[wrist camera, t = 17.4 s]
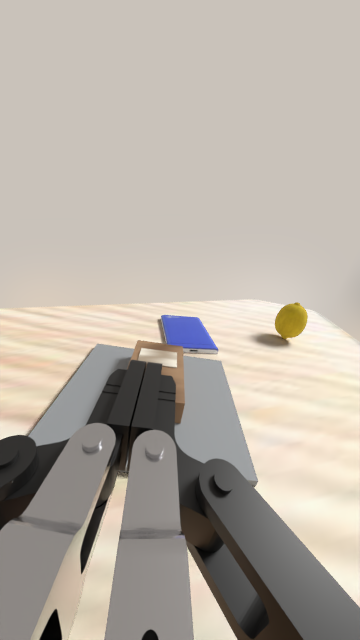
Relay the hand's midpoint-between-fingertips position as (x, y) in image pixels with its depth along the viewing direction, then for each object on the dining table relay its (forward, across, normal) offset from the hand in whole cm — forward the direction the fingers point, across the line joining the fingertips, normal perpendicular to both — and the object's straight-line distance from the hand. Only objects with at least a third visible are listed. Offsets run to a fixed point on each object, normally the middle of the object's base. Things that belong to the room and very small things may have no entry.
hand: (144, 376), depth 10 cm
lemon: (+30, -26, +11) cm, 41 cm away
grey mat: (+10, 0, +10) cm, 14 cm away
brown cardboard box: (+6, 0, +8) cm, 10 cm away
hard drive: (+26, -4, +11) cm, 29 cm away
